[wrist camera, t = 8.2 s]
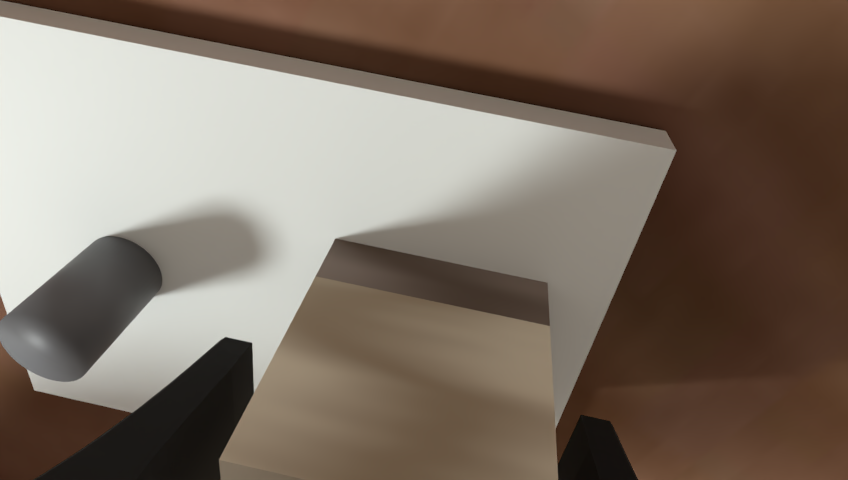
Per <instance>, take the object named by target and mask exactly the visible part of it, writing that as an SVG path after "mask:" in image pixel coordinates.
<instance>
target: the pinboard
mask: <svg viewBox="0 0 848 480" xmlns="http://www.w3.org/2000/svg"><path fill="white" fill-rule="evenodd" d="M676 151H677V150H676V149H675V147H674V145H673V143H672V141H671V140H670V138H669V136H668V134H667V132H666V131H663V130H658V129H653V128H648V127H643V126H638V125H633V124H628V123H623V122H618V121H613V120H607V119H602V118H597V117H592V116H587V115H582V114H577V113H572V112H567V111H562V110H557V109H552V108H546V107H541V106H536V105H531V104H526V103H521V102H516V101H511V100H506V99H501V98H496V97H491V96H485V95H480V94H475V93H470V92H465V91H460V90H455V89H450V88H445V87H440V86H435V85H430V84H424V83H419V82H414V81H409V80H404V79H399V78H394V77H389V76H384V75H379V74H374V73H368V72H363V71H358V70H353V69H348V68H343V67H338V66H333V65H328V64H323V63H318V62H313V61H307V60H302V59H297V58H292V57H287V56H282V55H277V54H272V53H267V52H262V51H257V50H252V49H246V48H241V47H236V46H231V45H226V44H221V43H216V42H211V41H206V40H201V39H196V38H191V37H185V36H180V35H175V34H170V33H165V32H160V31H155V30H150V29H145V28H140V27H135V26H129V25H124V24H119V23H114V22H109V21H104V20H99V19H94V18H89V17H84V16H79V15H74V14H68V13H63V12H58V11H53V10H48V9H43V8H38V7H33V6H28V5H23V4H18V3H13V2H7V1H2V0H0V294H1V297H2V300H3V303H4V306H5V309H6V311H7V315H6V316H5V317H4V318H3V319H2V320H1V321H0V341H1V344H2V345H3V347H4V348H5V350H6V351H7V352H8V354H9V355H10V356H11V357H12V358H13V359H14V360H15V361H17V362H18V363H19V364H20V365H22V366H23V367H24V368H26V369H27V371H28V374H29V377H30V380H31V382H32V385H33V388H34V390H35V391H39V392H44V393H48V394H52V395H57V396H61V397H65V398H70V399H74V400H79V401H83V402H87V403H92V404H96V405H100V406H105V407H109V408H114V409H118V410H122V411H127V412H131V413H133V412H134V411H135V410H137V409H138V408H139V407H141V406H142V405H143V404H144V403H146V402H147V401H148V400H149V399H151V398H152V397H153V396H154V395H156V394H157V393H158V392H159V391H161V390H162V389H163V388H164V387H166V386H167V385H168V384H169V383H171V382H172V381H173V380H174V379H175V378H177V377H178V376H179V375H180V374H181V373H183V372H184V371H185V370H186V369H187V368H189V367H190V366H191V365H192V364H193V363H194V362H196V361H197V360H198V359H199V358H200V357H201V356H203V355H204V354H205V353H206V352H207V351H208V350H209V349H211V348H212V347H213V346H214V345H215V344H216V343H217V342H219V341H220V340H221V339H223V338H224V337H228V338H232V339H237V340H242V341H246V342H251V343H252V349H253V382H254V392H255V390H256V388H257V386H258V385H259V383H260V381H261V379H262V377H263V375H264V373H265V371H266V369H267V367H268V366H269V364H270V362H271V360H272V358H273V356H274V354H275V352H276V350H277V348H278V347H279V345H280V343H281V341H282V339H283V337H284V335H285V333H286V331H287V330H288V328H289V326H290V324H291V322H292V320H293V318H294V316H295V314H296V312H297V311H298V309H299V307H300V305H301V303H302V301H303V299H304V297H305V295H306V293H307V292H308V290H309V288H310V286H311V284H312V282H313V280H314V278H315V276H316V274H317V273H318V271H319V269H320V267H321V265H322V263H323V261H324V259H325V257H326V255H327V254H328V252H329V250H330V248H331V246H332V244H333V242H334V240H335V238H336V239H340V240H345V241H350V242H355V243H360V244H364V245H369V246H374V247H379V248H384V249H388V250H393V251H398V252H403V253H408V254H412V255H417V256H422V257H427V258H431V259H436V260H441V261H446V262H451V263H455V264H460V265H465V266H470V267H475V268H479V269H484V270H489V271H494V272H499V273H503V274H508V275H513V276H518V277H523V278H527V279H532V280H537V281H542V282H546V283H548V300H549V319H550V337H551V355H552V374H553V392H554V410H555V428H556V427H557V424H558V422H559V420H560V417H561V415H562V413H563V411H564V408H565V406H566V404H567V401H568V399H569V397H570V394H571V392H572V390H573V388H574V385H575V383H576V381H577V378H578V376H579V374H580V371H581V369H582V367H583V365H584V362H585V360H586V358H587V355H588V353H589V351H590V348H591V346H592V344H593V342H594V339H595V337H596V335H597V332H598V330H599V328H600V325H601V323H602V321H603V319H604V316H605V314H606V312H607V309H608V307H609V305H610V302H611V300H612V298H613V296H614V293H615V291H616V289H617V286H618V284H619V282H620V279H621V277H622V275H623V273H624V270H625V268H626V266H627V263H628V261H629V259H630V256H631V254H632V252H633V250H634V247H635V245H636V243H637V240H638V238H639V236H640V233H641V231H642V229H643V227H644V224H645V222H646V220H647V217H648V215H649V213H650V210H651V208H652V206H653V204H654V201H655V199H656V197H657V194H658V192H659V190H660V187H661V185H662V183H663V181H664V178H665V176H666V174H667V171H668V169H669V167H670V164H671V162H672V160H673V158H674V155H675V153H676Z"/></svg>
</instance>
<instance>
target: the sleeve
mask: <svg viewBox="0 0 848 480" xmlns="http://www.w3.org/2000/svg"><path fill="white" fill-rule="evenodd" d="M219 466H220V477H221V480H558V465H557V447H556V428H555V410H554V392H553V374H552V355H551V337H550V319H549V300H548V283H546V282H542V281H537V280H532V279H527V278H523V277H518V276H513V275H508V274H503V273H499V272H494V271H489V270H484V269H479V268H475V267H470V266H465V265H460V264H455V263H451V262H446V261H441V260H436V259H431V258H427V257H422V256H417V255H412V254H408V253H403V252H398V251H393V250H388V249H384V248H379V247H374V246H369V245H364V244H360V243H355V242H350V241H345V240H340V239H336V238H335V240H334V242H333V244H332V246H331V248H330V250H329V252H328V254H327V255H326V257H325V259H324V261H323V263H322V265H321V267H320V269H319V271H318V273H317V274H316V276H315V278H314V280H313V282H312V284H311V286H310V288H309V290H308V292H307V293H306V295H305V297H304V299H303V301H302V303H301V305H300V307H299V309H298V311H297V312H296V314H295V316H294V318H293V320H292V322H291V324H290V326H289V328H288V330H287V331H286V333H285V335H284V337H283V339H282V341H281V343H280V345H279V347H278V348H277V350H276V352H275V354H274V356H273V358H272V360H271V362H270V364H269V366H268V367H267V369H266V371H265V373H264V375H263V377H262V379H261V381H260V383H259V385H258V386H257V388H256V390H255V392H254V394H253V396H252V398H251V400H250V402H249V404H248V405H247V407H246V409H245V411H244V413H243V415H242V417H241V419H240V421H239V423H238V424H237V426H236V428H235V430H234V432H233V434H232V436H231V438H230V440H229V442H228V443H227V445H226V447H225V449H224V451H223V453H222V455H221V457H220V459H219Z"/></svg>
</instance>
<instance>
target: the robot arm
mask: <svg viewBox="0 0 848 480" xmlns="http://www.w3.org/2000/svg"><path fill="white" fill-rule="evenodd" d="M253 394H254V382H253V349H252V343H251V342H246V341H242V340H237V339H232V338H228V337H224V338H223V339H221V340H220V341H219V342H217V343H216V344H215V345H214V346H213V347H212V348H211V349H209V350H208V351H207V352H206V353H205V354H204V355H203V356H201V357H200V358H199V359H198V360H197V361H196V362H194V363H193V364H192V365H191V366H190V367H189V368H187V369H186V370H185V371H184V372H183V373H181V374H180V375H179V376H178V377H177V378H175V379H174V380H173V381H172V382H171V383H169V384H168V385H167V386H166V387H164V388H163V389H162V390H161V391H159V392H158V393H157V394H156V395H154V396H153V397H152V398H151V399H149V400H148V401H147V402H146V403H144V404H143V405H142V406H141V407H139V408H138V409H137V410H135V411H134V412H133V413H131V414H130V415H129V416H127V417H126V418H125V419H123V420H122V421H120V422H119V423H118V424H116V425H115V426H114V427H112V428H111V429H109V430H108V431H107V432H105V433H104V434H103V435H101V436H100V437H98V438H97V439H96V440H94V441H93V442H91V443H90V444H88V445H87V446H85V447H84V448H82V449H81V450H80V451H78V452H77V453H75V454H73V455H72V456H70V457H69V458H67V459H66V460H64V461H63V462H61V463H60V464H58V465H56V466H55V467H53V468H52V469H50V470H49V471H47V472H45V473H44V474H42V475H40V476H39V477H37V478H35V479H34V480H220V478H221V477H220V466H219V459H220V457H221V455H222V453H223V451H224V449H225V447H226V445H227V443H228V442H229V440H230V438H231V436H232V434H233V432H234V430H235V428H236V426H237V424H238V423H239V421H240V419H241V417H242V415H243V413H244V411H245V409H246V407H247V405H248V404H249V402H250V400H251V398H252V396H253ZM558 480H638V479H637V477H636V475H635V473H634V470H633V468H632V466H631V464H630V462H629V460H628V458H627V456H626V454H625V451H624V449H623V447H622V445H621V443H620V441H619V438H618V436H617V434H616V432H615V430H614V427H613V425H612V424H611V422H610V421H606V420H602V419H597V418H593V417H588V416H584V415H581V416H580V418H579V420H578V423H577V425H576V427H575V429H574V431H573V433H572V436H571V438H570V440H569V442H568V444H567V446H566V449H565V451H564V453H563V455H562V457H561V459H560V461H559V464H558Z"/></svg>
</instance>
